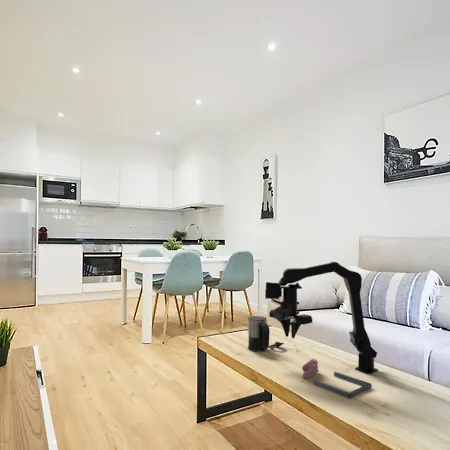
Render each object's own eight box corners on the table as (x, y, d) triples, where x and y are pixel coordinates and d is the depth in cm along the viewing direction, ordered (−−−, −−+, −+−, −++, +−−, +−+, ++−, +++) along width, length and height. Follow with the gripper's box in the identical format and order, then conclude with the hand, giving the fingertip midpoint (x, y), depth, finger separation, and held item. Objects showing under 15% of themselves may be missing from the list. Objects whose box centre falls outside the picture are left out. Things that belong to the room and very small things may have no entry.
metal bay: (335, 375, 134) (335, 371, 134) (371, 388, 122) (371, 383, 123) (313, 384, 125) (313, 380, 125) (350, 398, 114) (350, 393, 114)
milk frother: (243, 348, 168) (243, 317, 168) (265, 342, 178) (265, 313, 179) (265, 355, 157) (266, 322, 158) (287, 348, 168) (287, 317, 168)
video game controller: (312, 384, 129) (321, 367, 129) (301, 377, 130) (310, 361, 130) (311, 374, 139) (319, 359, 139) (301, 368, 140) (309, 353, 140)
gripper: (260, 298, 146) (260, 335, 146) (294, 304, 132) (294, 346, 131) (278, 295, 153) (278, 331, 153) (313, 301, 139) (313, 341, 138)
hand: (290, 337), depth 143 cm, fingers open, 3 cm apart
